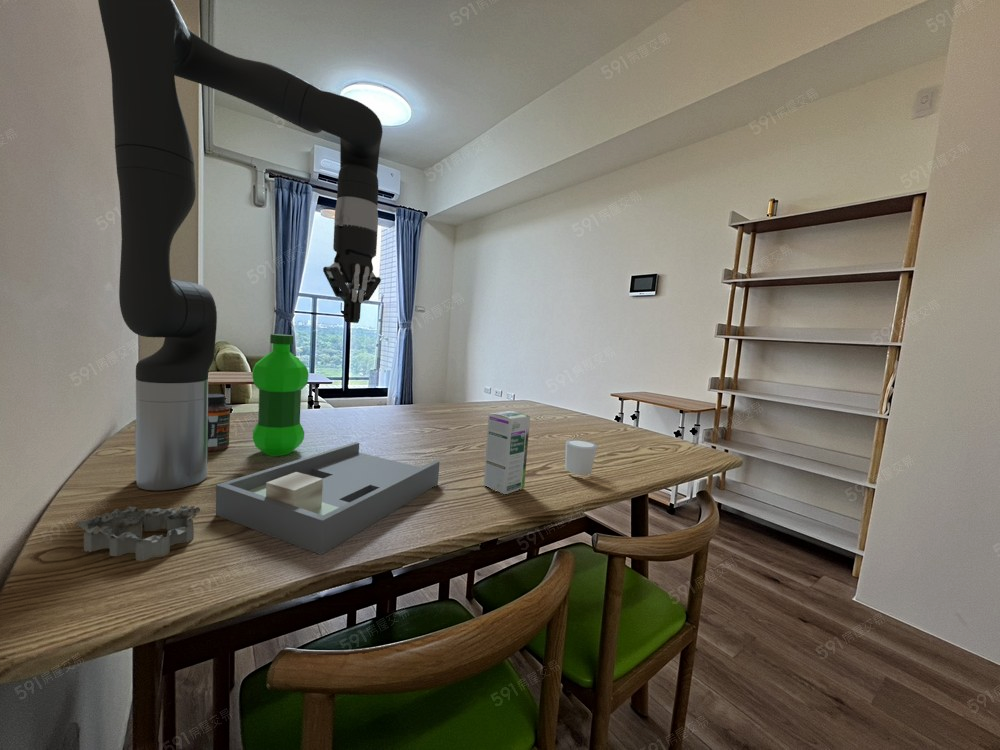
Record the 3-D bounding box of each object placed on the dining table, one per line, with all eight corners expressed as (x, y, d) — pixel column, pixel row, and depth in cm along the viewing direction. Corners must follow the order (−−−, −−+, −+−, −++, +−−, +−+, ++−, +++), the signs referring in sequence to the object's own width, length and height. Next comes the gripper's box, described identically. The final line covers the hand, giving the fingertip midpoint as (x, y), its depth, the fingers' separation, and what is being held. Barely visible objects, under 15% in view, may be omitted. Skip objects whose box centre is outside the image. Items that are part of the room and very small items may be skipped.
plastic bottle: (276, 463, 80) (280, 336, 77) (238, 453, 84) (240, 332, 81) (315, 450, 89) (320, 337, 87) (279, 442, 93) (283, 333, 90)
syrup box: (504, 496, 74) (512, 418, 72) (482, 485, 78) (488, 411, 76) (524, 489, 78) (531, 415, 77) (502, 479, 82) (508, 409, 81)
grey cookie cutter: (205, 536, 53) (205, 506, 53) (145, 568, 46) (145, 534, 45) (137, 522, 55) (137, 493, 54) (69, 551, 47) (69, 517, 47)
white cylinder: (583, 468, 94) (586, 439, 93) (599, 479, 88) (603, 447, 87) (556, 469, 92) (560, 439, 91) (571, 480, 85) (575, 448, 85)
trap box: (437, 484, 77) (439, 461, 76) (321, 554, 51) (322, 520, 50) (354, 463, 84) (355, 442, 83) (215, 514, 58) (216, 484, 58)
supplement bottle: (221, 452, 83) (222, 398, 82) (188, 451, 82) (188, 396, 81) (234, 444, 89) (235, 393, 88) (204, 443, 88) (204, 392, 87)
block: (265, 510, 56) (266, 482, 55) (295, 497, 60) (296, 471, 60) (293, 519, 54) (294, 490, 53) (321, 505, 59) (322, 478, 58)
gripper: (365, 237, 82) (360, 323, 84) (312, 218, 70) (308, 319, 72) (395, 237, 79) (390, 325, 81) (345, 217, 67) (340, 322, 69)
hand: (351, 322), depth 77 cm, fingers closed
